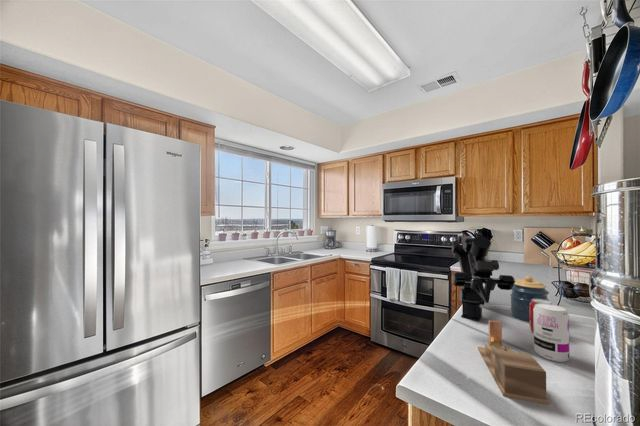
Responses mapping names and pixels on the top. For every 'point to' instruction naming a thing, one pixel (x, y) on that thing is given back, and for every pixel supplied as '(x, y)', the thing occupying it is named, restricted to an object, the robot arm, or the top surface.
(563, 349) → the supplement can
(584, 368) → the top surface
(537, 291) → the canister
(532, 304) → the soda can
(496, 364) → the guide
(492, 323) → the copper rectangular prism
